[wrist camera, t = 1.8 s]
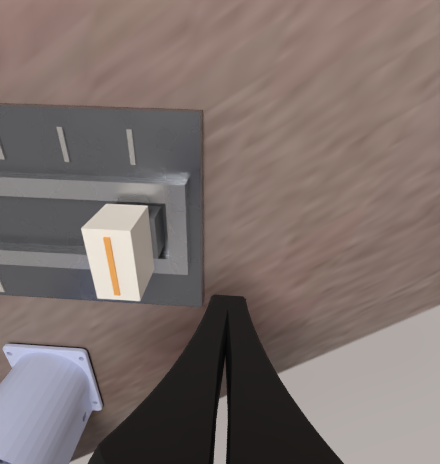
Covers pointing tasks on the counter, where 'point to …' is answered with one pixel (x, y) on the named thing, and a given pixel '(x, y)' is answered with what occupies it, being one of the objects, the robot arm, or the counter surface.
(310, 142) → the counter surface
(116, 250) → the fader tab
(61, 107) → the console
